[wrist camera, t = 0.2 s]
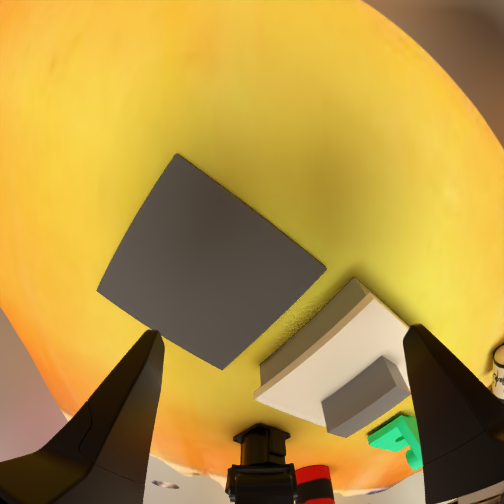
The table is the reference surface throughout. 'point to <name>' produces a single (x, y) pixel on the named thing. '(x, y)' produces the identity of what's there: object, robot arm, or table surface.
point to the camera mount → (400, 439)
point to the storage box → (315, 329)
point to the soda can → (314, 485)
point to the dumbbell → (498, 373)
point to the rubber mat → (205, 267)
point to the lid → (346, 372)
